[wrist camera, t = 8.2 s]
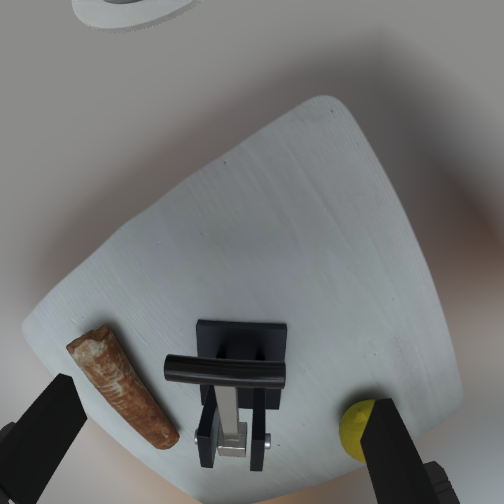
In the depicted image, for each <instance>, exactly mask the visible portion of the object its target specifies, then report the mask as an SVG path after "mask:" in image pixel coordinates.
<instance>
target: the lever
mask: <svg viewBox="0 0 504 504" xmlns="http://www.w3.org/2000/svg"><path fill="white" fill-rule="evenodd" d="M164 376H165V379H166V380H167V381H174V382H182V383H191V384H200V385H211V386H214V388H215V394H216V399H217V404H218V410H219V415H220V420H221V421H219V428H218V437H217V449H218V453H219V455H220V456H229V457H246V445H247V422H239V410H238V391H237V387H240V388H263V389H284V387H285V379H286V365H285V362H284V361H252V360H232V359H217V358H204V357H193V356H183V355H173V354H168V355H167V356H166V359H165V363H164Z"/></svg>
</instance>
